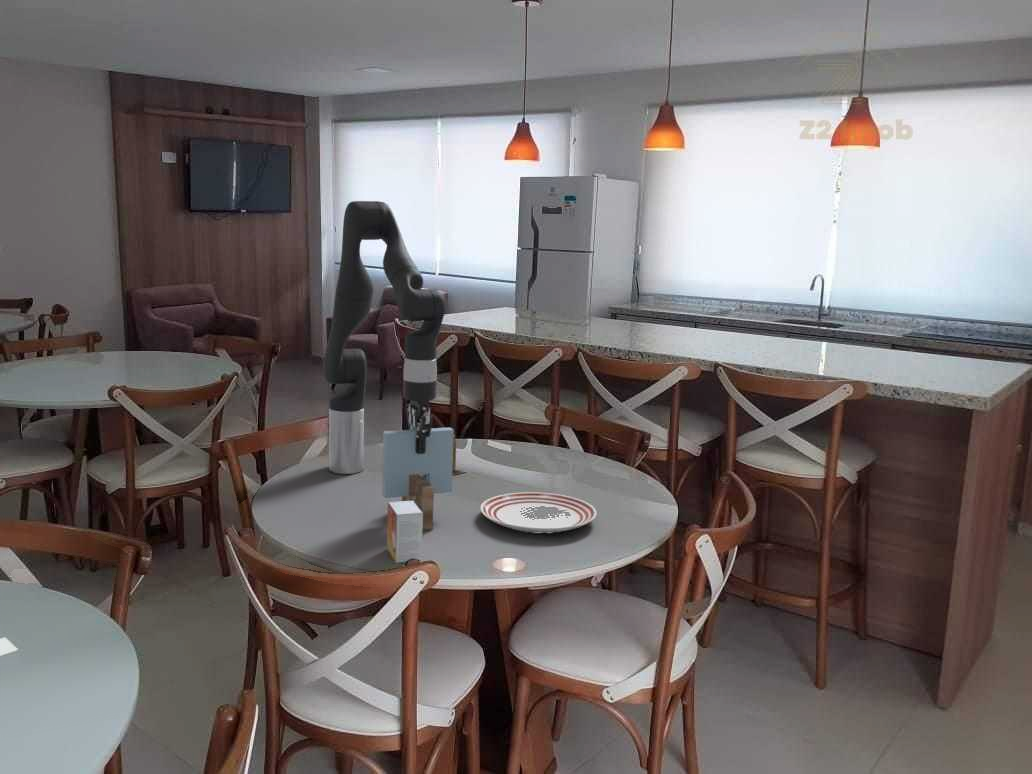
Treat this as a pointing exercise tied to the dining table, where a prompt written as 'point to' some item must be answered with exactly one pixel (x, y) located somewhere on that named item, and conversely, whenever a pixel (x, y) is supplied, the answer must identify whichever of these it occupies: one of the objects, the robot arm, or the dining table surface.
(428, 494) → the walnut block
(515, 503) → the dinner plate
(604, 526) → the dining table surface
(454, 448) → the condiment
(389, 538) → the small box
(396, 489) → the light blue square panel
